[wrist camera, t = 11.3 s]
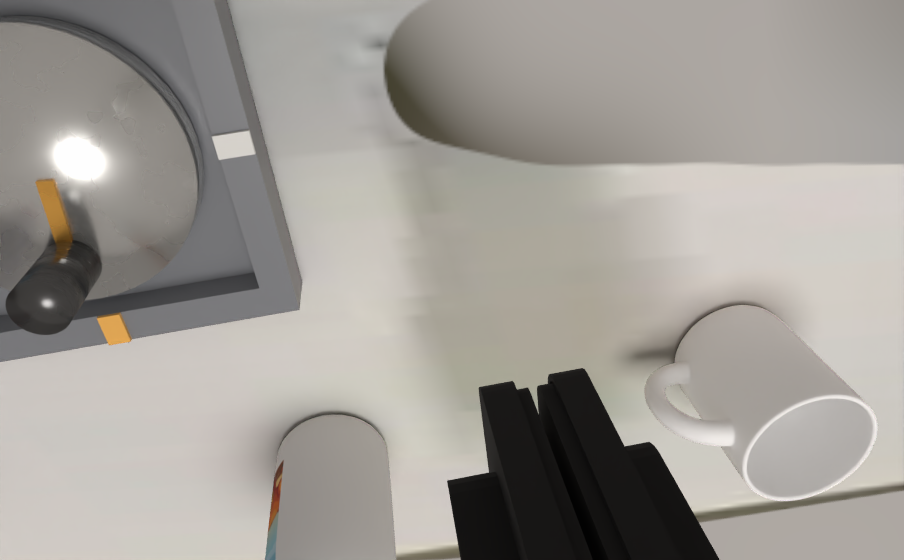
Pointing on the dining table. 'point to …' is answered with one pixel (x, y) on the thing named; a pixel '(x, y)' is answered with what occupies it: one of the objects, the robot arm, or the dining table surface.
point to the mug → (765, 404)
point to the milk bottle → (332, 493)
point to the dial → (86, 171)
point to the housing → (224, 193)
